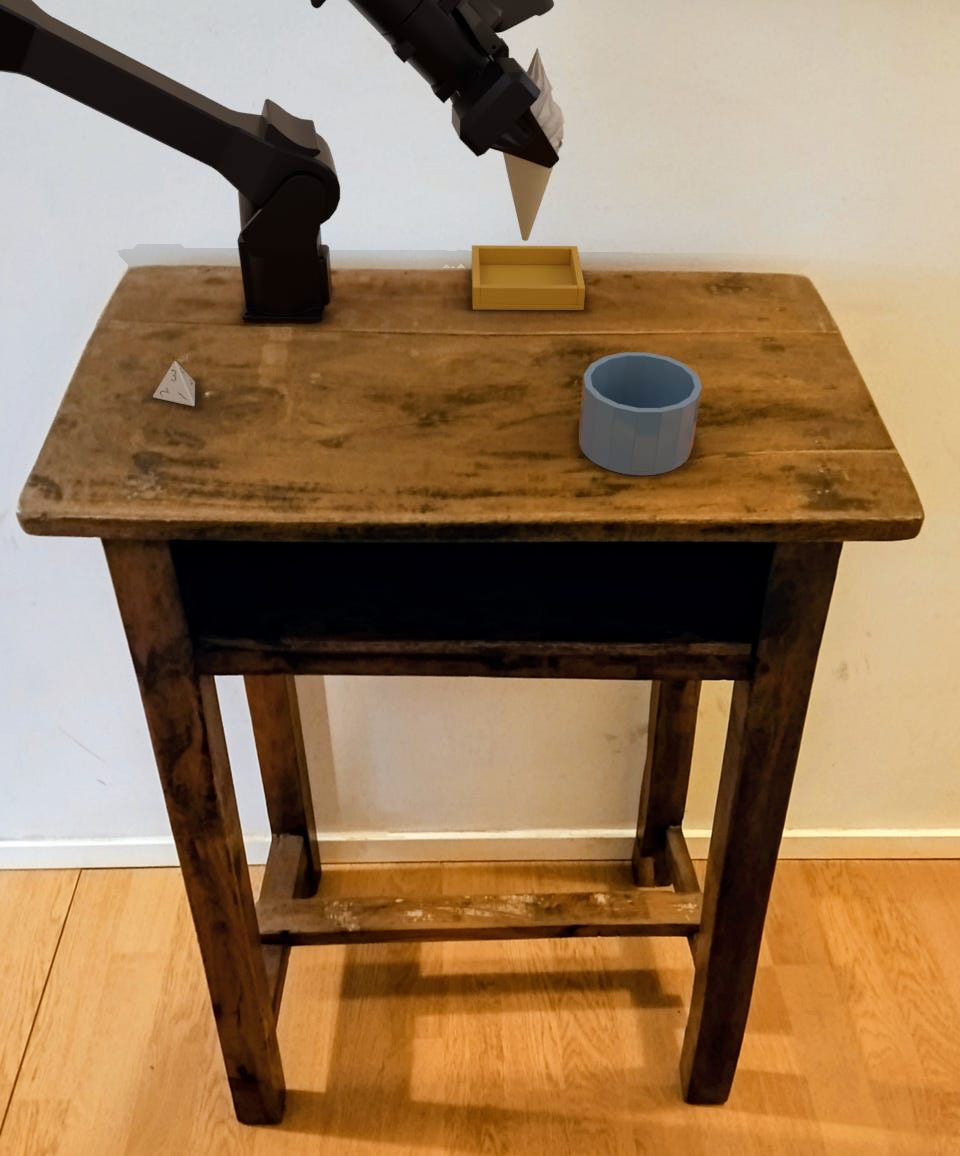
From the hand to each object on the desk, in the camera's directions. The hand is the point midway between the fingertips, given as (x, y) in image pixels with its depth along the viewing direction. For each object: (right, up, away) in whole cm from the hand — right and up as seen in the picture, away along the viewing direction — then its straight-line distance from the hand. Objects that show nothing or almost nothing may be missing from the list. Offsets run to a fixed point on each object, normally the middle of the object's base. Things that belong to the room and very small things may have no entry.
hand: (546, 151), depth 91 cm
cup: (+5, -24, -11) cm, 27 cm away
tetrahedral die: (-27, -20, -7) cm, 34 cm away
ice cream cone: (-2, -6, +5) cm, 8 cm away
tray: (-1, -9, +7) cm, 12 cm away
